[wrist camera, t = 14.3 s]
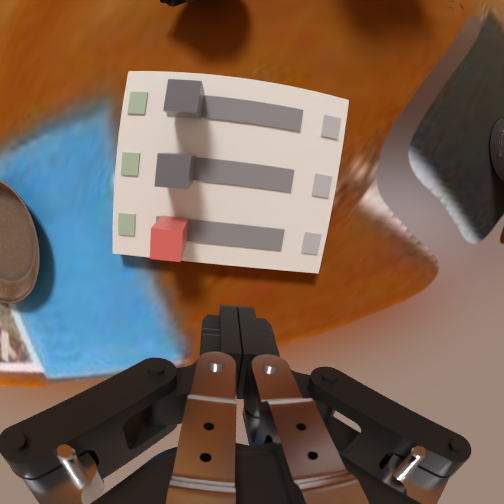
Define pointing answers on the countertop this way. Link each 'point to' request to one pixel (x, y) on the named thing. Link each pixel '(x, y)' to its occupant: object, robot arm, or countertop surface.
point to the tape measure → (177, 2)
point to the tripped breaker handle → (168, 238)
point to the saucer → (16, 247)
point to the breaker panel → (228, 168)
